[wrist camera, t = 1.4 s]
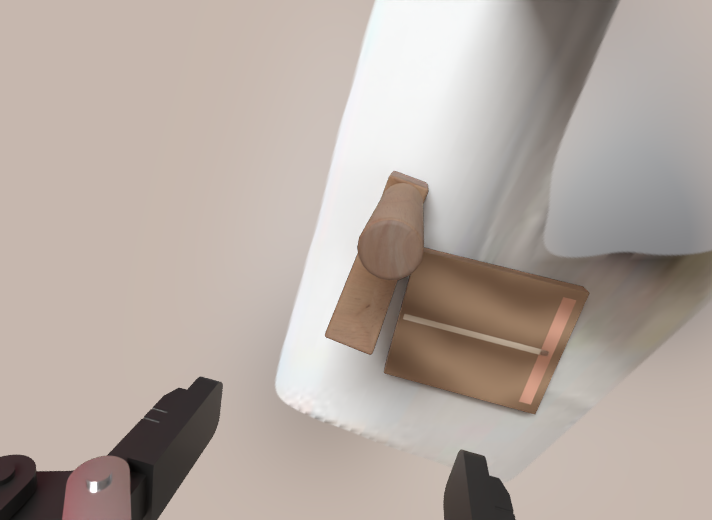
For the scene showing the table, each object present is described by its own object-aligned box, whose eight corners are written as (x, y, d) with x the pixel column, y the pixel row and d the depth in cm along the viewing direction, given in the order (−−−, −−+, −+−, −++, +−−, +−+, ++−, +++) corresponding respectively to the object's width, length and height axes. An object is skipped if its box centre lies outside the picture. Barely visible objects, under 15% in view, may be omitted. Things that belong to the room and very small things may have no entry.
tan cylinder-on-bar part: (354, 270, 42) (308, 368, 25) (392, 169, 38) (369, 204, 21) (388, 283, 41) (365, 391, 24) (429, 183, 38) (436, 229, 21)
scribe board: (418, 245, 40) (417, 250, 38) (583, 286, 38) (589, 293, 37) (385, 365, 44) (383, 373, 43) (531, 404, 43) (535, 414, 42)
